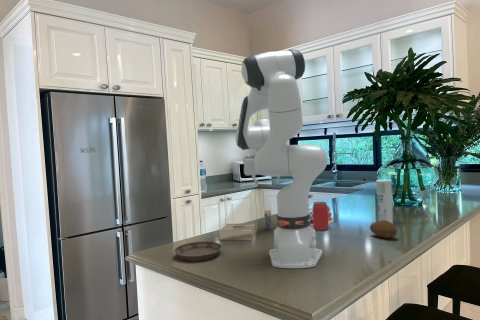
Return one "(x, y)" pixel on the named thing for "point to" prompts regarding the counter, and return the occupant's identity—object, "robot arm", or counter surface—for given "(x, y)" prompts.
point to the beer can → (320, 216)
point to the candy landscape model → (312, 215)
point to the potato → (384, 229)
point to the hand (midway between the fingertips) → (266, 184)
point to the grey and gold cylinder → (267, 220)
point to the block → (238, 231)
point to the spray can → (384, 200)
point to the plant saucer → (198, 251)
